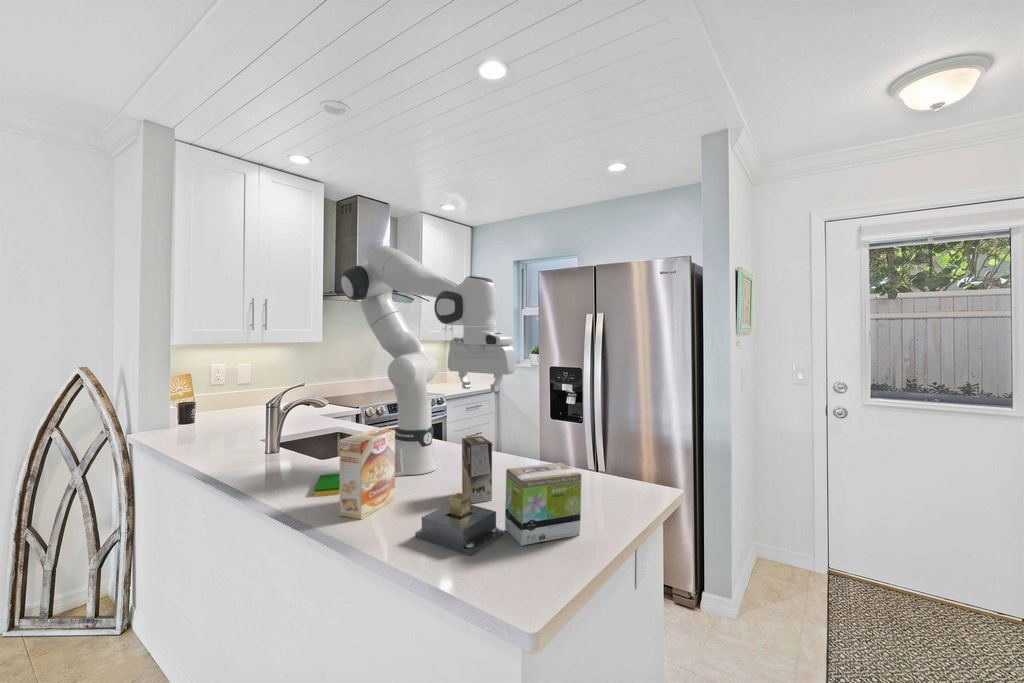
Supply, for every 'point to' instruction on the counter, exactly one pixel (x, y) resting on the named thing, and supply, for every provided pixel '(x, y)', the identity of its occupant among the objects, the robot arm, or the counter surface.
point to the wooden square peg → (459, 505)
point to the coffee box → (477, 468)
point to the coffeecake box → (367, 472)
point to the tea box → (542, 503)
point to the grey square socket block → (460, 529)
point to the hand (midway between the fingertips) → (480, 389)
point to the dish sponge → (327, 485)
